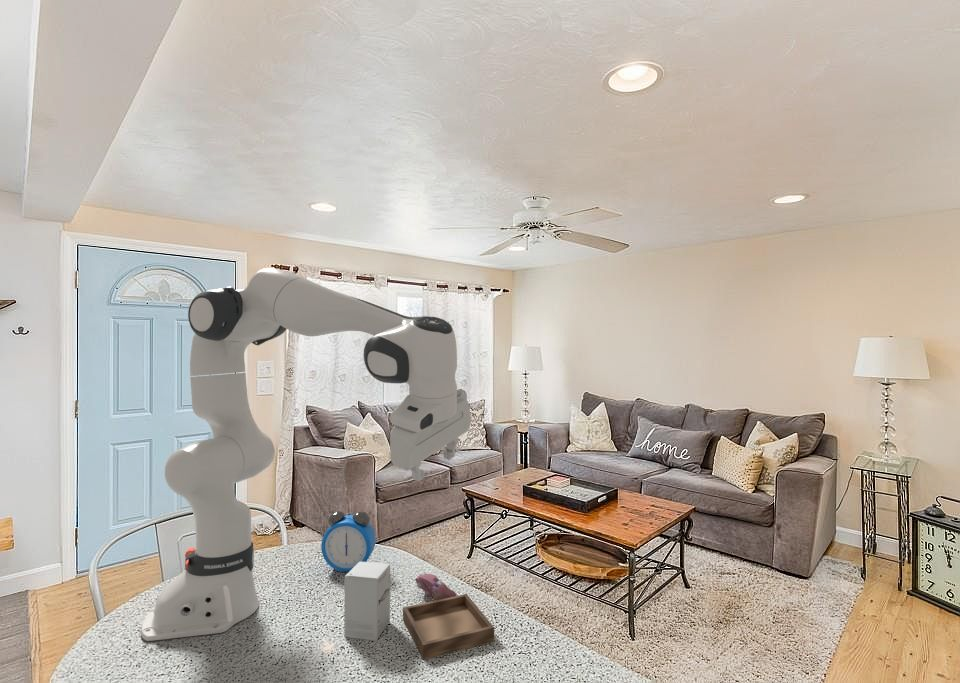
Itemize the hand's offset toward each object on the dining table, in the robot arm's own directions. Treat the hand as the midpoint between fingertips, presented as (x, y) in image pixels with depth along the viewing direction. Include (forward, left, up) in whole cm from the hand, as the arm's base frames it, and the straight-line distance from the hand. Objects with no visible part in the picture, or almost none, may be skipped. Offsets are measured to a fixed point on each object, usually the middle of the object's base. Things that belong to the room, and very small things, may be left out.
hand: (434, 468), depth 99 cm
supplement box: (-11, +12, -36) cm, 39 cm away
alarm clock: (-10, +43, -36) cm, 57 cm away
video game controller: (+6, +19, -36) cm, 41 cm away
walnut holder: (+4, +5, -35) cm, 36 cm away
